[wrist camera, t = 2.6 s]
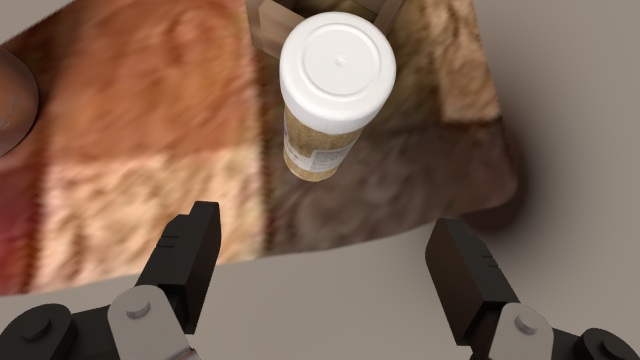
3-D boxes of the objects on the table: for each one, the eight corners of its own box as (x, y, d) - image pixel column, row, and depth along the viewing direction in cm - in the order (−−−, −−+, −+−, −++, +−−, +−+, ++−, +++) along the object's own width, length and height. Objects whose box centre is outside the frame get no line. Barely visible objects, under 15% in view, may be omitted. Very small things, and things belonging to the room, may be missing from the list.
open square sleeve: (252, 45, 27) (245, 1, 22) (306, -36, 29) (310, -94, 24) (351, 99, 27) (365, 66, 22) (399, 14, 29) (421, -33, 24)
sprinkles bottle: (277, 132, 26) (266, 16, 13) (334, 120, 26) (380, -3, 13) (291, 189, 25) (296, 130, 12) (349, 175, 26) (415, 103, 13)
